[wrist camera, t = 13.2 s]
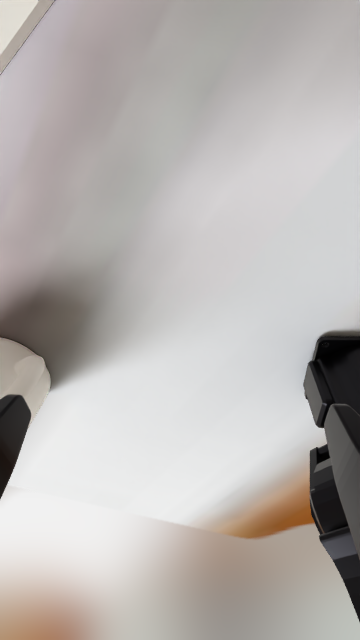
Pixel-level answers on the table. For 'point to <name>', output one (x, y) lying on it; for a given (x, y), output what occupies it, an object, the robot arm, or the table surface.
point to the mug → (23, 375)
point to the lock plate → (18, 24)
